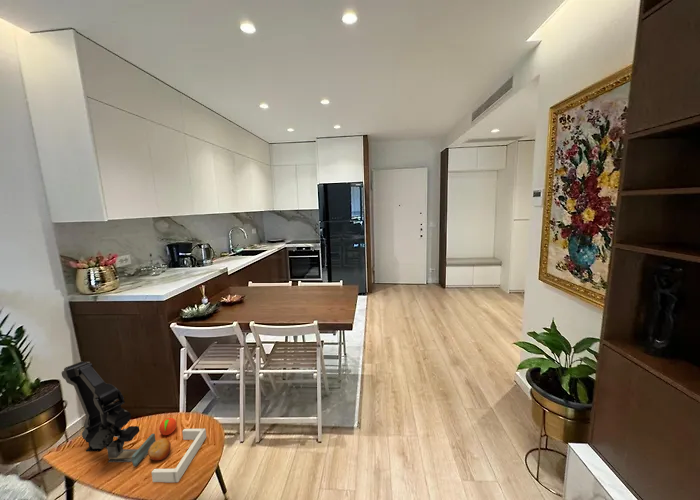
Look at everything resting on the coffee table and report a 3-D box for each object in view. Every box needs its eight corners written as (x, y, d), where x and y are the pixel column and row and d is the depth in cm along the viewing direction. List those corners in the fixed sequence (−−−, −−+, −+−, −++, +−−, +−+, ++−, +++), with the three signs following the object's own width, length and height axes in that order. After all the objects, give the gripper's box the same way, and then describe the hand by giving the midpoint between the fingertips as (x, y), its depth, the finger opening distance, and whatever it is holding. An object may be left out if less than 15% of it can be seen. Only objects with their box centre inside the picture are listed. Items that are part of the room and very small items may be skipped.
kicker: (99, 468, 118) (97, 455, 117) (122, 444, 130) (120, 432, 129) (136, 468, 118) (134, 455, 117) (156, 444, 129) (154, 432, 129)
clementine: (175, 437, 133) (173, 423, 132) (157, 442, 131) (155, 428, 130) (178, 425, 141) (177, 412, 140) (162, 429, 138) (160, 416, 137)
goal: (152, 482, 112) (151, 472, 111) (185, 437, 133) (184, 428, 133) (178, 482, 112) (176, 472, 111) (206, 437, 133) (205, 428, 133)
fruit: (178, 442, 129) (170, 436, 124) (168, 464, 123) (159, 458, 118) (161, 441, 130) (152, 435, 124) (151, 462, 123) (141, 457, 118)
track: (108, 462, 121) (108, 461, 121) (119, 451, 127) (119, 449, 126) (139, 462, 121) (139, 460, 121) (149, 450, 126) (148, 449, 126)
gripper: (69, 433, 113) (76, 468, 115) (117, 433, 113) (122, 468, 115) (94, 413, 124) (99, 446, 126) (138, 412, 124) (142, 445, 126)
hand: (115, 451), depth 123 cm, fingers closed on kicker, 3 cm apart
